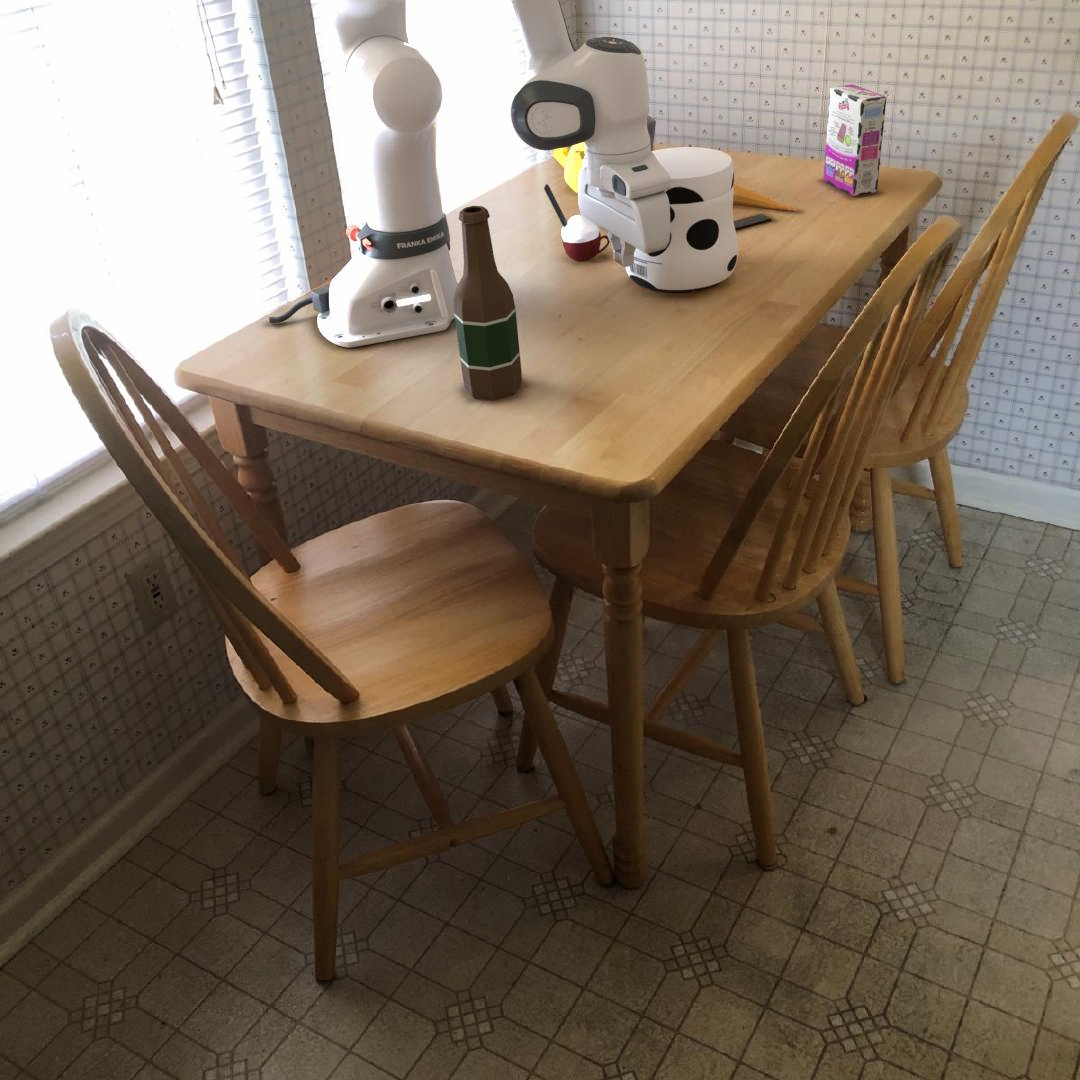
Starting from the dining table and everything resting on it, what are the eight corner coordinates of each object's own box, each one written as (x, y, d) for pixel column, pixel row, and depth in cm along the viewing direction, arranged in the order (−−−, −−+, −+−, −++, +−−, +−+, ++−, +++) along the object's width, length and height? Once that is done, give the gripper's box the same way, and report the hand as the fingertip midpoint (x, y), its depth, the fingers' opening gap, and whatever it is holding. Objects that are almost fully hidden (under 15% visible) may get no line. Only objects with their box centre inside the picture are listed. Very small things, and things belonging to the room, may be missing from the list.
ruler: (639, 255, 182) (639, 253, 182) (630, 250, 184) (630, 247, 184) (771, 220, 190) (771, 218, 190) (761, 216, 193) (761, 213, 192)
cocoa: (614, 254, 183) (611, 181, 176) (594, 268, 179) (590, 194, 172) (566, 246, 188) (561, 175, 181) (545, 259, 184) (539, 186, 177)
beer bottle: (522, 372, 151) (505, 195, 137) (523, 399, 145) (505, 217, 131) (465, 377, 151) (442, 201, 137) (463, 404, 145) (439, 223, 131)
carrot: (691, 202, 203) (688, 182, 199) (703, 186, 204) (701, 166, 201) (791, 229, 194) (790, 209, 190) (803, 211, 195) (803, 191, 192)
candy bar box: (879, 193, 197) (888, 96, 188) (853, 198, 196) (862, 100, 187) (846, 175, 206) (853, 82, 197) (821, 180, 205) (828, 86, 196)
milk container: (744, 260, 177) (747, 144, 167) (729, 305, 164) (731, 182, 153) (636, 257, 181) (633, 144, 171) (613, 300, 168) (608, 181, 158)
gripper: (563, 153, 159) (571, 247, 167) (635, 190, 144) (640, 291, 152) (602, 144, 161) (608, 237, 169) (677, 179, 145) (679, 279, 153)
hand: (623, 263), depth 160 cm, fingers closed
